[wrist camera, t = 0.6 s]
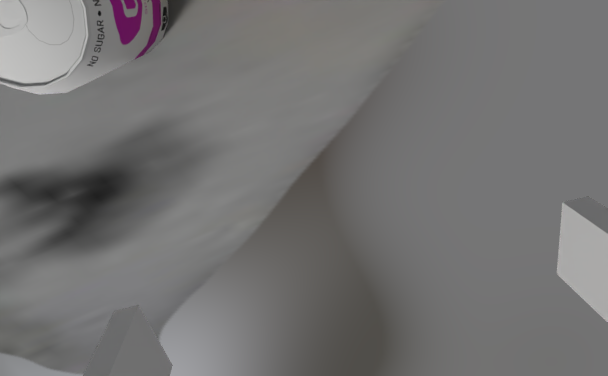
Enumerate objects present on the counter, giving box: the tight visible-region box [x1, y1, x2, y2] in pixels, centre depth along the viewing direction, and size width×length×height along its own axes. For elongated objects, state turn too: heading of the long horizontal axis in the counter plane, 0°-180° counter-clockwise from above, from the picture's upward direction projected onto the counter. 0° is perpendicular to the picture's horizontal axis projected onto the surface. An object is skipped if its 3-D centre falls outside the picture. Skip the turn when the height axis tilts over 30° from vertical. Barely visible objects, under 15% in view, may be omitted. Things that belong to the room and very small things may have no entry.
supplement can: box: [0, 0, 168, 94], centre depth 25 cm, size 8×8×15 cm
